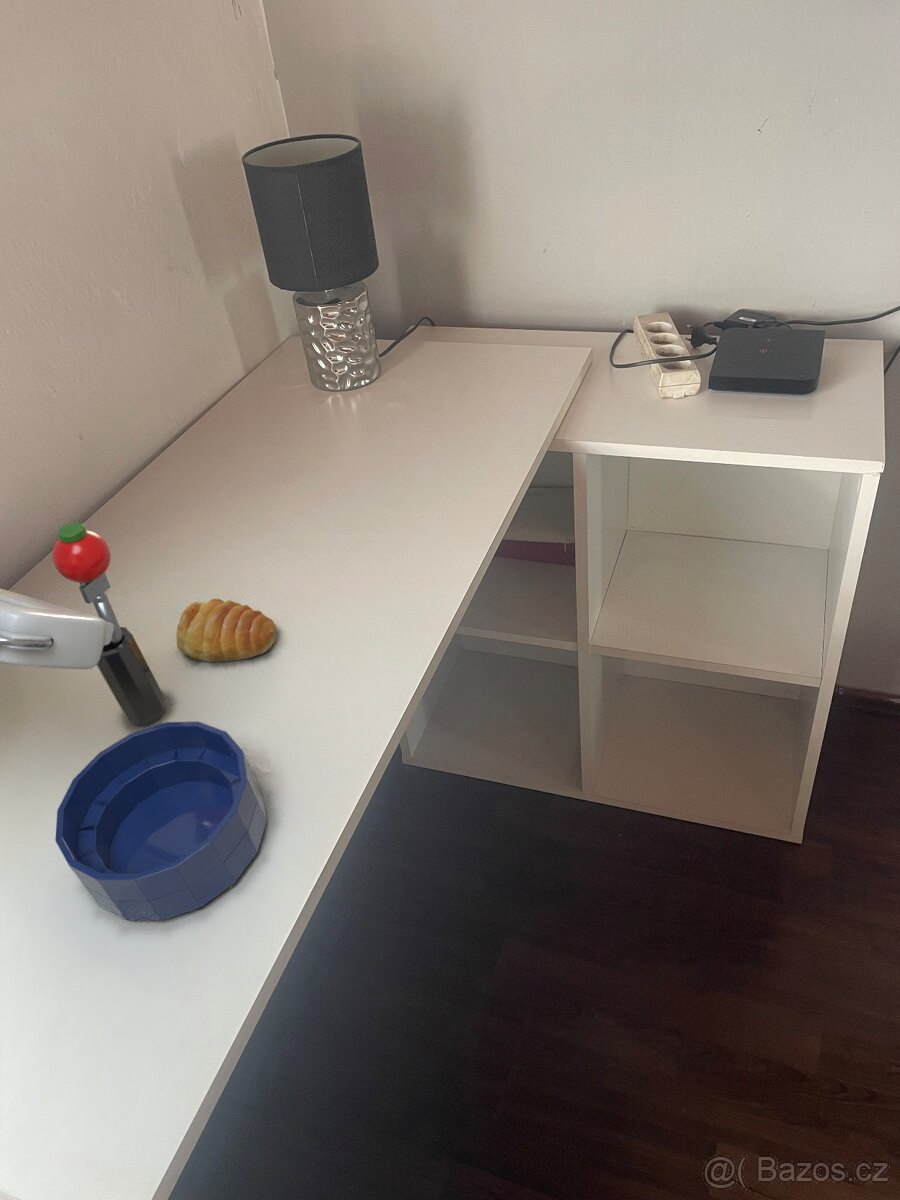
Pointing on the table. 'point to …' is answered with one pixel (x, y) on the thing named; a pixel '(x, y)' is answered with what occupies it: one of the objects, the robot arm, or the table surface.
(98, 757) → the bowl
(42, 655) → the robot arm
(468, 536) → the table surface
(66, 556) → the baster
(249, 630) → the pastry
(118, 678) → the cup
